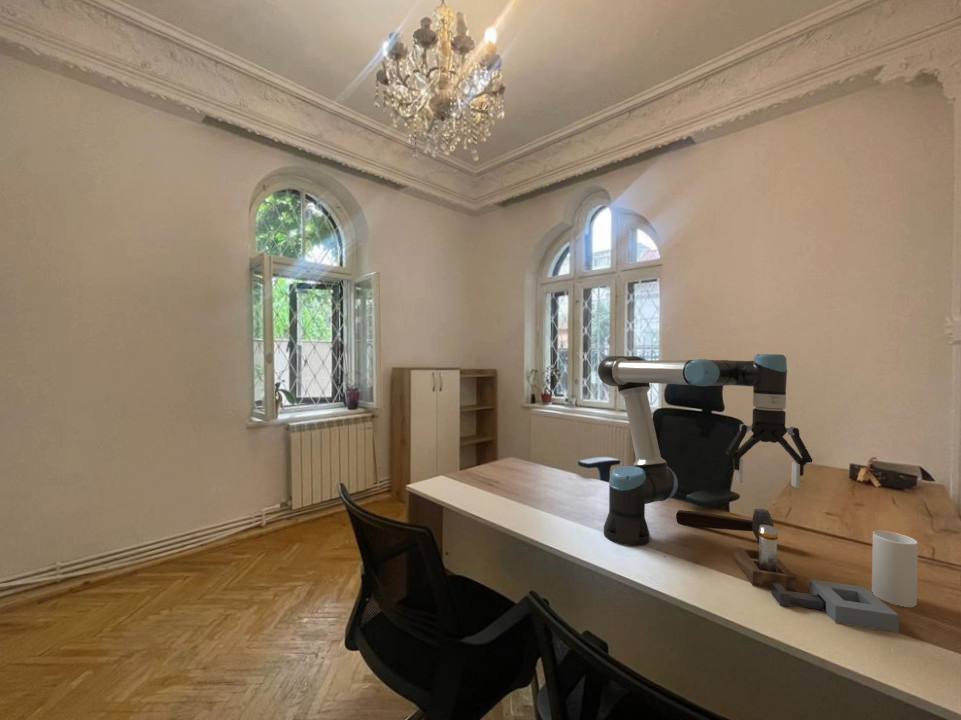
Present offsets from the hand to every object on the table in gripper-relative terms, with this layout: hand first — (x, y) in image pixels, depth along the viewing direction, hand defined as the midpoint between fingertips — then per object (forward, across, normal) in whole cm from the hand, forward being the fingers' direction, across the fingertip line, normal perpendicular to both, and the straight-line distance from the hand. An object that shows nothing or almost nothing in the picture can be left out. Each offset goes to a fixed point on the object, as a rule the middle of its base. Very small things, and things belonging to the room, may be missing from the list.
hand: (766, 484), depth 112 cm
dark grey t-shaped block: (+27, +4, -11) cm, 29 cm away
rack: (+27, +1, +3) cm, 27 cm away
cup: (+27, +30, 0) cm, 40 cm away
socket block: (+27, +15, -11) cm, 32 cm away
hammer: (+28, -2, +32) cm, 42 cm away
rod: (+27, +1, 0) cm, 27 cm away
